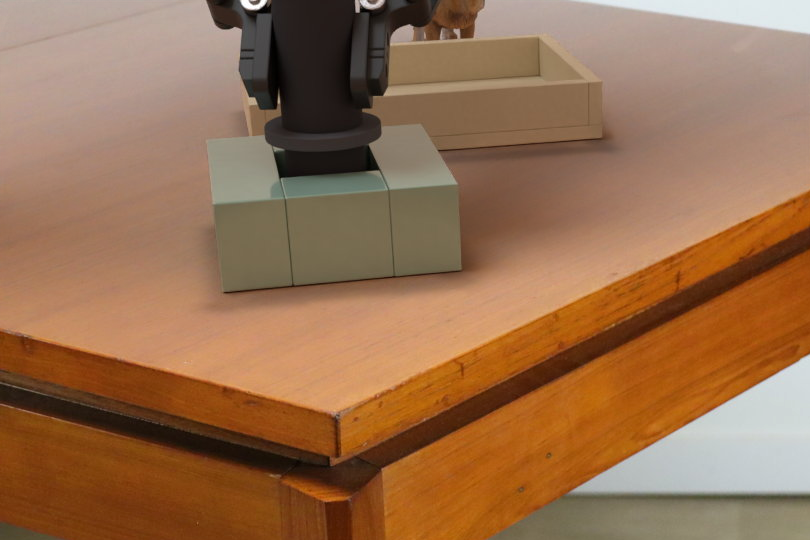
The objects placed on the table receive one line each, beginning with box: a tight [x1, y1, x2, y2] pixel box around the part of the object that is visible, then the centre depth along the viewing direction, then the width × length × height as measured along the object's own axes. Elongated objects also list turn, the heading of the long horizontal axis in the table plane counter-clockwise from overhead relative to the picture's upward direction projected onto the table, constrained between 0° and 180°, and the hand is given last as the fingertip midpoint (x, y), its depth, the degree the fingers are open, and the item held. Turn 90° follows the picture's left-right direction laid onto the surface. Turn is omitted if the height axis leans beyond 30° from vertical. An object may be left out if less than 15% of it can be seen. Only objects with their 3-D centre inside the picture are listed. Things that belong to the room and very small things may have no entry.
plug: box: [264, 0, 382, 178], centre depth 68 cm, size 5×5×11 cm
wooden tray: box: [237, 33, 603, 151], centre depth 90 cm, size 20×14×3 cm
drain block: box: [205, 124, 463, 293], centre depth 70 cm, size 10×10×4 cm
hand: (312, 98), depth 66 cm, fingers closed on plug, 3 cm apart
